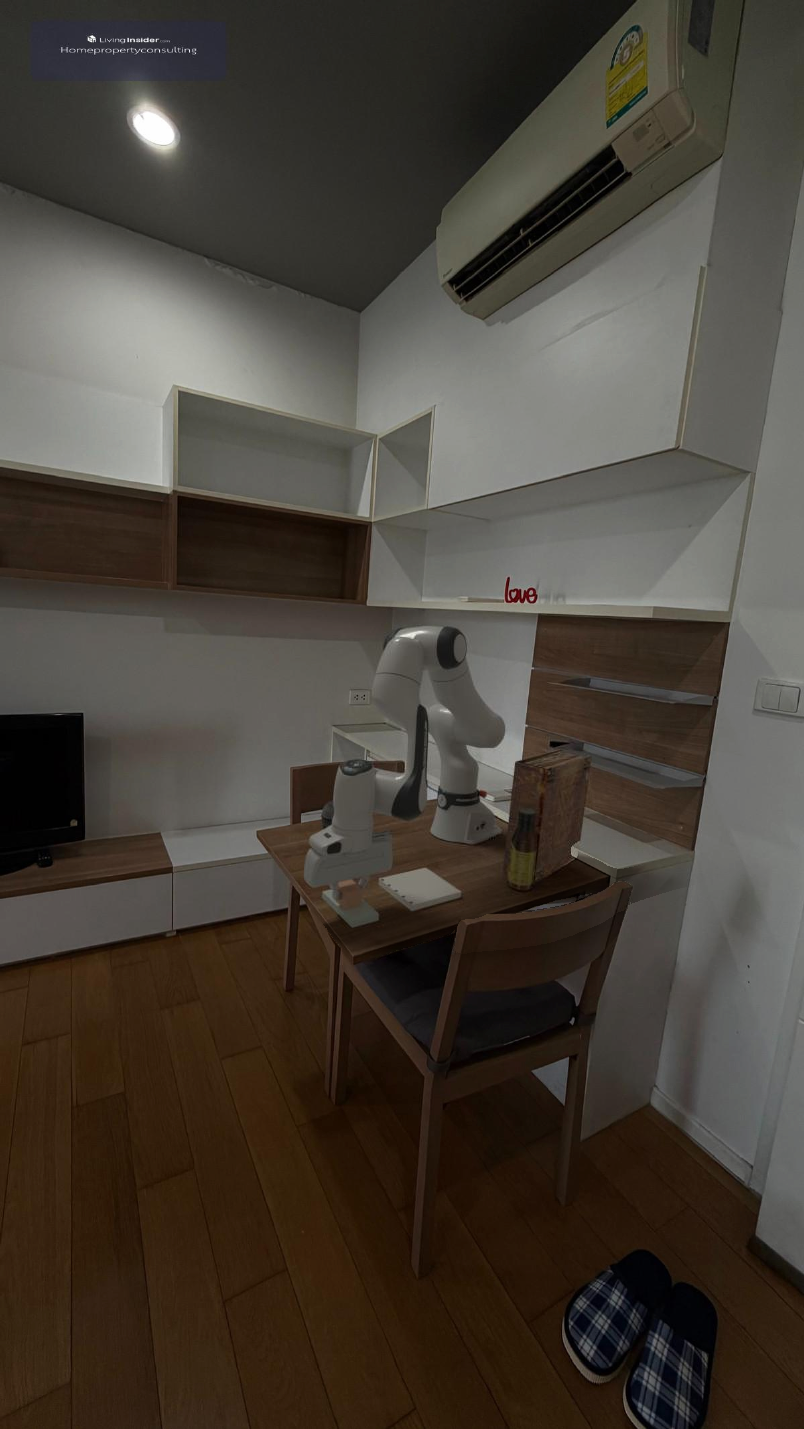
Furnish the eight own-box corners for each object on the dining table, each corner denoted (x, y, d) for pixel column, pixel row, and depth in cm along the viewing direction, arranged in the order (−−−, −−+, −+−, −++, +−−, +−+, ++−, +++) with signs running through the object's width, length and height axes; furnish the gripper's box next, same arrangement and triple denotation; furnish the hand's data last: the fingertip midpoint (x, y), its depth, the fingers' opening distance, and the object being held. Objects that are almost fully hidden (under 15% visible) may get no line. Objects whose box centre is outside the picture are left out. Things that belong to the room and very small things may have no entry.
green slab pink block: (346, 891, 133) (348, 869, 132) (378, 920, 122) (380, 896, 121) (321, 897, 129) (323, 874, 128) (352, 927, 118) (353, 903, 117)
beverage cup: (313, 858, 149) (316, 785, 146) (329, 849, 155) (333, 778, 152) (336, 866, 146) (340, 790, 142) (352, 856, 152) (356, 784, 149)
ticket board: (425, 873, 146) (425, 867, 145) (460, 897, 134) (461, 891, 134) (378, 884, 138) (378, 878, 137) (411, 911, 126) (412, 904, 126)
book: (548, 847, 168) (561, 748, 163) (578, 858, 162) (592, 755, 157) (502, 872, 149) (514, 761, 144) (533, 885, 143) (548, 770, 138)
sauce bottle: (514, 877, 147) (522, 803, 143) (536, 886, 143) (545, 810, 139) (501, 886, 142) (509, 809, 138) (524, 895, 138) (533, 816, 134)
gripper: (385, 824, 131) (381, 880, 133) (302, 838, 119) (299, 899, 121) (400, 833, 125) (395, 892, 128) (315, 849, 114) (312, 913, 116)
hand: (348, 896), depth 125 cm, fingers open, 4 cm apart
